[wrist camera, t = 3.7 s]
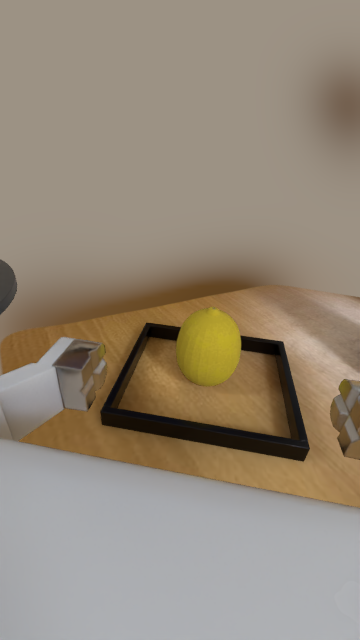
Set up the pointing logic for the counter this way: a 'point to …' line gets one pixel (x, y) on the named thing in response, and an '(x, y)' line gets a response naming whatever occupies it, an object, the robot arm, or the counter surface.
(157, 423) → the black square frame
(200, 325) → the lemon
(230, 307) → the counter surface
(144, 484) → the robot arm
